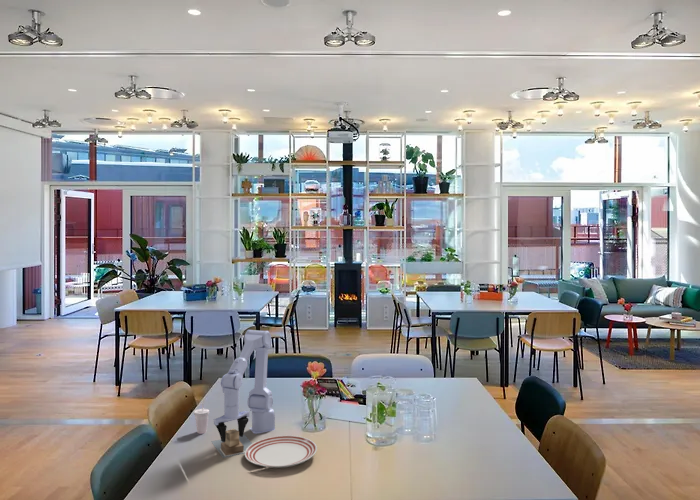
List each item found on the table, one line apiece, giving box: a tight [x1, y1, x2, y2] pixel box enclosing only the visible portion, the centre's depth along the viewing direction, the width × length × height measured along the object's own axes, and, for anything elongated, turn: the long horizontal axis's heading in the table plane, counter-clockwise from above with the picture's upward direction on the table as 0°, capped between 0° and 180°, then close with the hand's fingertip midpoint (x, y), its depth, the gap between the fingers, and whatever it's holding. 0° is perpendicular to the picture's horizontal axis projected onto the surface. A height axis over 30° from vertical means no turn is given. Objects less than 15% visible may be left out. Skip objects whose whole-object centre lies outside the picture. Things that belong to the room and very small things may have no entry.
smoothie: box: [193, 400, 210, 435], centre depth 227 cm, size 6×6×14 cm
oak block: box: [225, 428, 239, 447], centre depth 208 cm, size 4×4×5 cm
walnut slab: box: [221, 441, 244, 455], centre depth 208 cm, size 7×7×2 cm
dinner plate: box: [244, 434, 318, 469], centre depth 202 cm, size 27×27×3 cm
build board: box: [211, 434, 253, 459], centre depth 212 cm, size 14×18×1 cm
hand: (232, 438), depth 207 cm, fingers open, 7 cm apart
